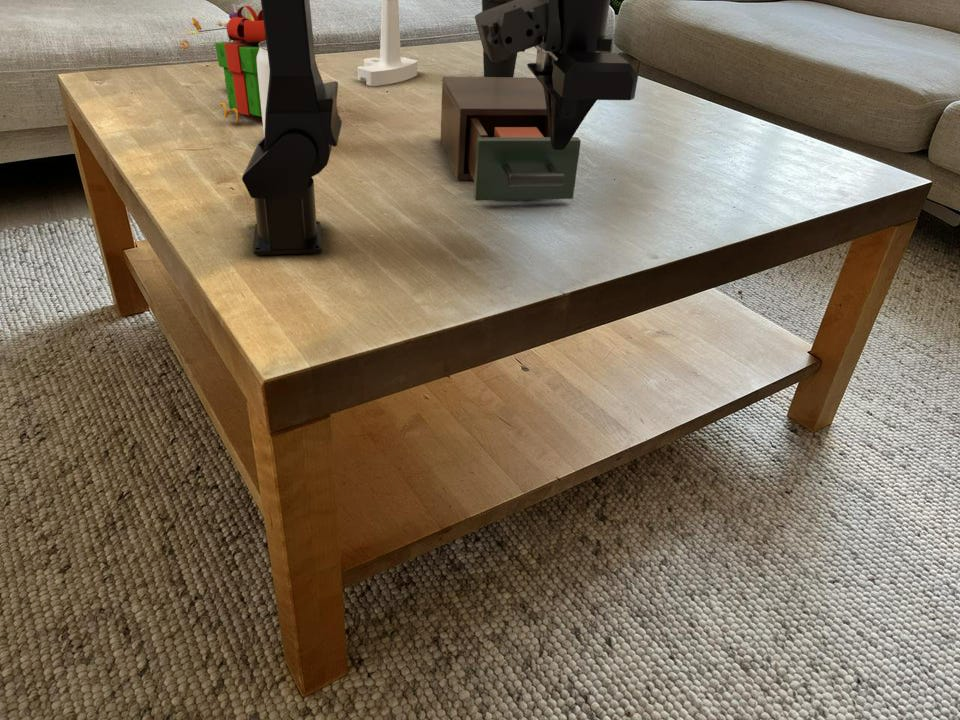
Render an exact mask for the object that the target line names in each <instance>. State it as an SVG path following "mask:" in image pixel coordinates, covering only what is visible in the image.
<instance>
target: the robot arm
mask: <svg viewBox="0 0 960 720" xmlns="http://www.w3.org/2000/svg"><path fill="white" fill-rule="evenodd" d="M310 1H311V0H260V5H261V10H262V13H263V21H264V29H265V36H266V44H267V52H268V60H269V67H270V76H269V86H268V95H267V104H266V114H265V138H264V137H263V138H262V140H260V141H259V142H258V143H257V145H256V147H255V149H254V151H253V154H252V156H251V158H250V160H249V161H248V164H247V166H246V168H245V170H244V172H243V175H242V177H241V180H242V182H243V184H244V186H245V189H246V190H247V192H248V194H249V196H250V197H251V198H252V199H254V200H253V203H254V210H255V220H256V223H255V224H254V235H253V244H252V254H253V255H255V256H267V255H271V256H273V255H300V254H303V255H305V254H321V253H322V252H323V241H322V240H323V239H322V223H321V221H319V220H317V214H316V213H317V211H316V210H317V209H316V195H315V194H316V193H315V180H314V178H313V177H315V176H317V175H319V174H320V173H322V171H323V170H324V169H325V167H327V165H328V163H329V160H330V156H331V153H332V148H336V147H337V146H338V142H339V137H340V133H341V129H342V124H343V120H342V119H341V116H340V114H339V111H338V106H337V105H338V104H337V103H338V102H337V101H338V91H339V90H338V89H339V82H338V81H337V80H336V81H335V80H334V81H330V82H324V81H323V78H322V76H321V73H320V70H319V67H318V64H317V61H316V53H315V52H316V51H315V43H314V32H313V31H314V30H313V21H312V12H311V2H310ZM610 4H611V0H514V1H511V2H508V3H505V4H502V5H500V6H497V7H494V8H491V9H489V10H486V11H483V12H482V11H480V12H479V13H476V14H475V15H474V19H475V24H476V27H477V31H478V35H479V39H480V42H481V43H480V44H481V46H482V51H483V50H484V53H485V54H487V55H488V56H489V59H490V60H491V61H492V62H498V61H502V60H505V59H508V58H509V56H510V55H512V54H515V53H517V54H518V53H521V52H522V53H524V52H526V50H529V49H533V48H535V49H536V57H535V62H529V63H527V64H526V66H527V68H528V69H529V71H530V72H531V73H532V74H533V76H534V77H535V78H537V79H538V80H539V81H540V83H541V84H542V85H543V88H544V94H545V101H546V108H547V116H548V124H549V132H550V139H551V146H552V148H553V149H554V150H564V149H565V148H566V146H567V145H568V143H569V141H570V140H571V138H572V137H574V136H575V134H576V132H577V131H578V129H579V128H580V126H581V124H582V122H583V121H584V120H585V118H586V116H587V115H588V114H589V112H590V111H591V109H592V108H593V107H594V106H595V104H596V102H597V101H632V100H634V99H635V97H636V90H637V85H638V80H639V74H638V73H637V71H636V70H635V68H634V67H633V65H631V63H630V62H629V61H627V60H626V59H625V58H623V57H622V56H621V55H620V54H618V53H617V52H611V50H612V45H613V44H612V43H613V38H611V37H609V36H608V35H607V34H606V31H607V26H608V25H607V24H608V18H609V11H610V6H611V5H610Z"/></svg>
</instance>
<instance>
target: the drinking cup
mask: <svg viewBox="0 0 960 720" xmlns="http://www.w3.org/2000/svg"><path fill="white" fill-rule="evenodd" d="M511 1H514V0H481V12H483V11H486V10H489V9H491V8H494V7H497V6H500V5H502V4H505V3H508V2H511ZM482 57H483V58H482V59H483V77H515V76H514V75H515V70H516V64H517V58H518V53H515V54H512V55H510V56H509V58H508V59H505V60H502V61H498V62H492V61H491V60H490V59H489V56H488V55H487V54H485V53H484V50H483V49H482Z"/></svg>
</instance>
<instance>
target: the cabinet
mask: <svg viewBox="0 0 960 720" xmlns="http://www.w3.org/2000/svg"><path fill="white" fill-rule="evenodd" d="M441 80H442V84H441V111H440V112H441V113H440V115H441V116H440V117H441V118H440V144H441V147H442V149H443V152H444V153H445V156H446V158H447V160H448V163H449V164H450V167H451V169H452V172H453V174H454V177H455V178H456V180H457V181H473V179H472V177H471V175H470V173H469V170H468V168H467V166H466V164H465V142H466V123H467V115H522V116H547V108H546V101H545V94H544V88H543V85H542V84H541V83H540V81H539V80H538V79H537V78H536V77H515V76H513V77H484V76H442V79H441Z"/></svg>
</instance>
